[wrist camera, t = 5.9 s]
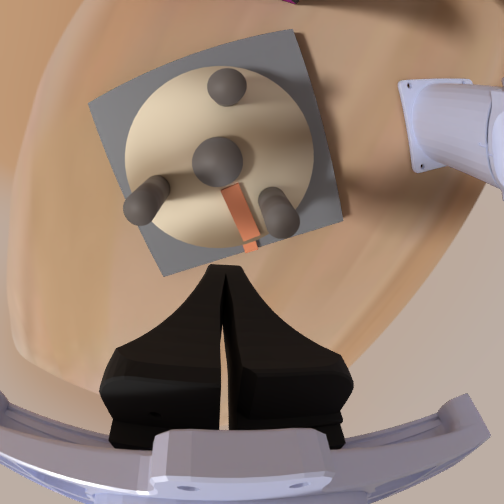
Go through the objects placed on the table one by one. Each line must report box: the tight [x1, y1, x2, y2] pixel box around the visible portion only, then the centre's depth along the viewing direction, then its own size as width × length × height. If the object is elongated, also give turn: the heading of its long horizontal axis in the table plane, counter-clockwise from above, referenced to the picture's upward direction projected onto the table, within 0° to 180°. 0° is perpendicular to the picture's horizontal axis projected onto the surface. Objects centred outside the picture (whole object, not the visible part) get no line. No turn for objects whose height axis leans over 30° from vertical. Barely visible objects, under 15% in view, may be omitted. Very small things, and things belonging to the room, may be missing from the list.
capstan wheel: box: [123, 66, 314, 248], centre depth 16 cm, size 12×12×6 cm
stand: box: [88, 29, 343, 277], centre depth 19 cm, size 15×15×1 cm
